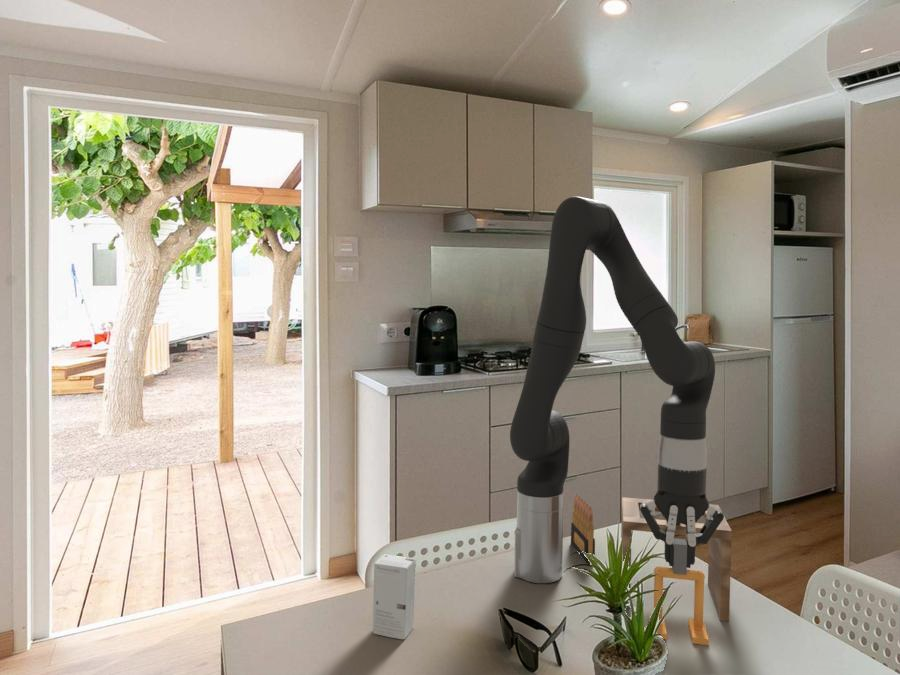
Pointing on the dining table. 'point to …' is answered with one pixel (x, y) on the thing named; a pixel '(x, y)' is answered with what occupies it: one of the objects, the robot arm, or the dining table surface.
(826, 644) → the dining table surface
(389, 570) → the skincare box
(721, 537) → the wooden frame stand
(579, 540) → the ammunition clip
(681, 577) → the orange footed arch
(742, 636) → the dining table surface
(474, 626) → the dining table surface
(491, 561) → the dining table surface
